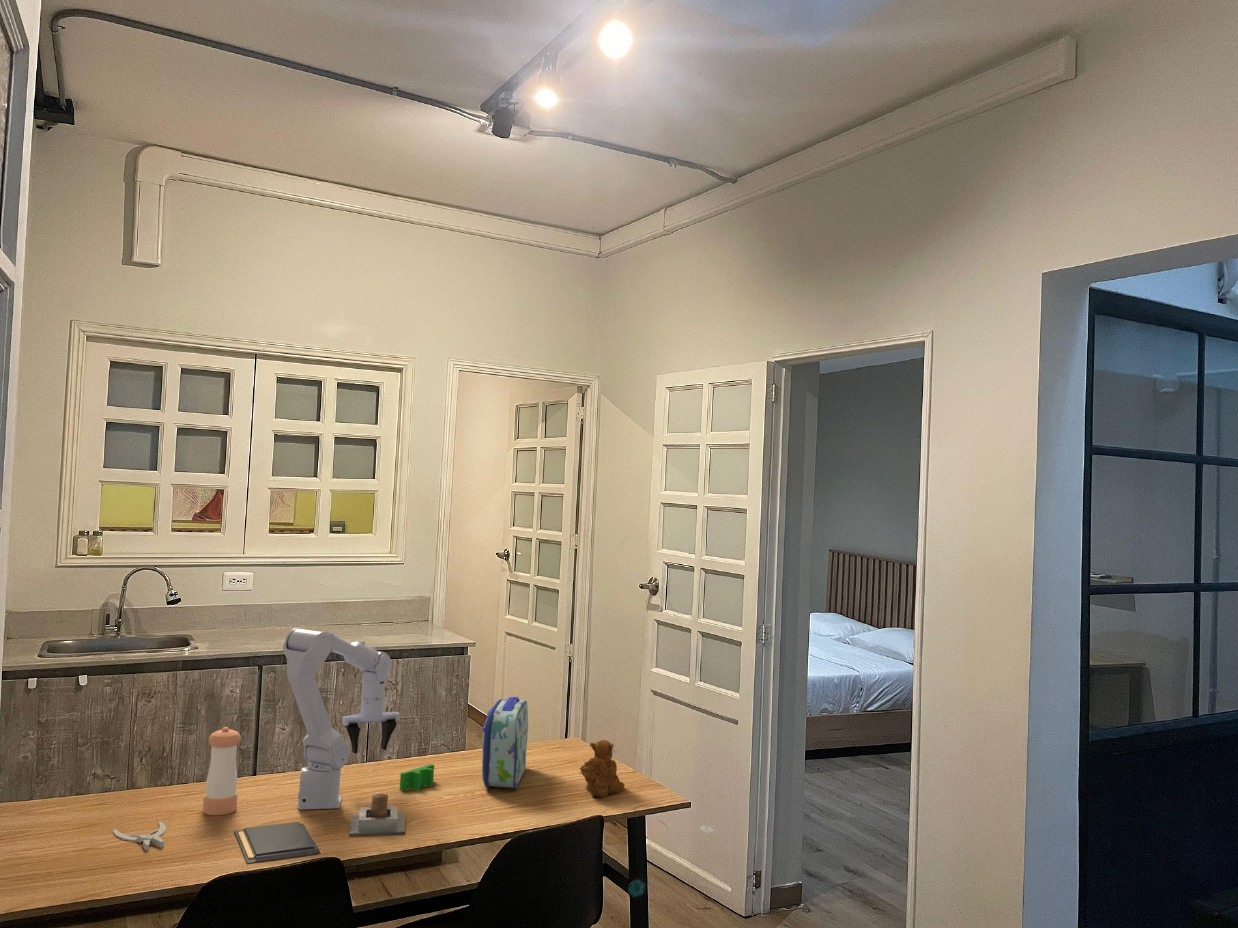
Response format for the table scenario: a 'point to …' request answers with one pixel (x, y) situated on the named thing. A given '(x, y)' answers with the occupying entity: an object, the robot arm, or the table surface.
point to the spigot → (379, 805)
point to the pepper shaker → (222, 773)
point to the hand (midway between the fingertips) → (369, 750)
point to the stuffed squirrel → (601, 771)
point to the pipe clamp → (417, 778)
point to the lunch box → (505, 743)
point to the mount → (377, 823)
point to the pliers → (145, 837)
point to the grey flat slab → (275, 842)
